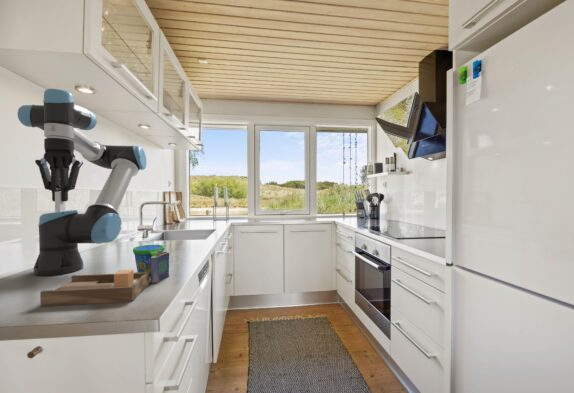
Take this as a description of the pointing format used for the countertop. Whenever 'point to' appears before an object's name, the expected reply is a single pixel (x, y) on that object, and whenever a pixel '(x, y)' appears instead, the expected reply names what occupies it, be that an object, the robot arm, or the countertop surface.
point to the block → (123, 278)
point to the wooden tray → (94, 290)
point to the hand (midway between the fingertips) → (60, 211)
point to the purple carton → (159, 266)
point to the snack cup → (145, 256)
